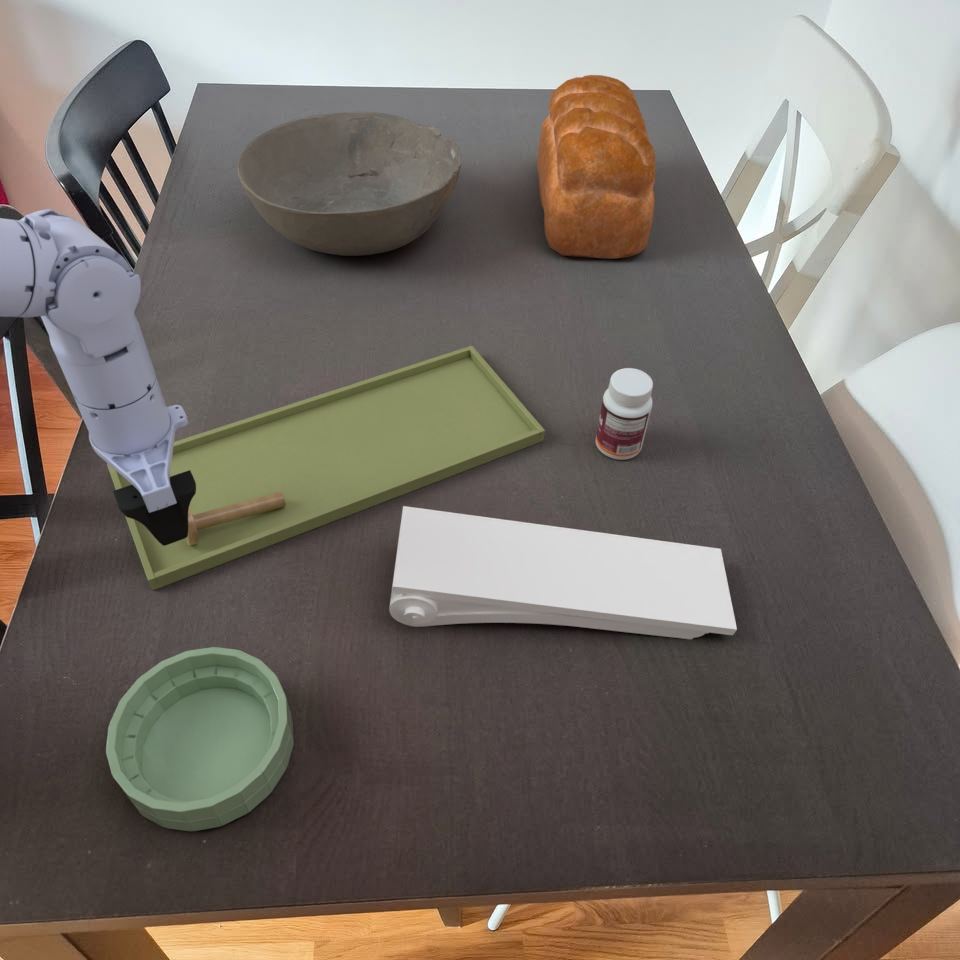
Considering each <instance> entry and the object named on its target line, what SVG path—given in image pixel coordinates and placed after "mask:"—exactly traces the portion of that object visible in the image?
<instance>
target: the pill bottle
mask: <svg viewBox="0 0 960 960" xmlns="http://www.w3.org/2000/svg"><path fill="white" fill-rule="evenodd" d="M653 388H654V382H653V379H652V377H651V376H650V375H649V374H647V373H646V371H643V370H641V369H638V368H632V367H625V368H621V369H618V370H616V371H614V372H613V373H612V375H611V376H610V379H609V383H608V387H607V389H606V390H605V391H604V393H603V396H602V398H601V407H600V412H599V417H598V422H597V431H596V434H595V445H596V447H597V449H598V450H599V452H601V454H603V455H604V456H606V457H608V458H610V459H613V460H617V461H618V460H619V461H624V460H625V461H626V460H629V459H630V460H631V459H633V458H635V457H637V456H638V455H639V454H640V453H641V451H642V449H643V445H644V441H645V437H646V433H647V429H648V425H649V420H650V417H651V413H652V409H653V402H654V401H653V397H652V394H653Z"/></svg>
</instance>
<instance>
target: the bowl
mask: <svg viewBox="0 0 960 960" xmlns="http://www.w3.org/2000/svg"><path fill="white" fill-rule="evenodd" d="M236 166H237V167H236V168H237V169H236V172H237V174H238V179H239V182H240V185H241V187H242V189H243V191H244V193H245V194H246V196H247V198H248V199H249V201H250V202H251V203H252V205H253V206H254V208H255V209H256V211H257V213H258V214H259V215H260V216H261V218H262V219H263V220H265V222H266V223H267V224H268V225H269V226H271V227H272V228H273V229H274V230H275V231H276V232H277V233H279V234H280V235H281V236H283V237H284V238H285V239H287V240H289V241H290V242H292V243H294V244H296V245H298V246H300V247H303V248H306V249H308V250H311V251H315V252H318V253H322V254H323V253H324V254H329V255H334V256H335V255H336V256H347V257H348V256H349V257H351V256H352V257H355V256H356V257H357V256H371V255H377V254H382V253H386V252H391V251H394V250H397V249H399V248H402V247H404V246H406V245H408V244H410V243H411V242H413V241H415V240H416V239H418V238H419V237H421V236H422V235H423V234H424V233H425V232H427V231H428V230H429V229H430V228H431V226H432V225H433V224H434V223H435V221H436V220H437V218H438V217H439V216H440V214H441V213H442V210H443V208H444V207H445V205H446V204H447V203H448V201H449V199H450V197H451V196H452V194H453V191H454V189H455V187H456V184H457V182H458V180H459V177H460V173H461V168H462V152H461V150H460V147H458V145H457V143H456V141H454V139H452V138H449V137H448V138H445V137H444V136H443V135H442V133H441V131H440V129H439V128H437V127H434V126H432V125H423V124H421V123H417V122H415V121H413V120H410V119H407V118H405V117H403V116H399V115H395V114H389V113H384V112H376V111H342V112H334V113H325V114H311V115H307V116H304V117H300V118H296V119H293V120H290V121H287V122H283V123H280V124H278V125H276V126H275V127H272V128H270V129H269V130H267V131H265V132H263V133H261V134H259V135H257V137H255V138H253V139H252V140H251V141H250V142H248V144H246V145H245V146H244V148H243V149H242V151H241V152H240V155H239V157H238V160H237V165H236Z"/></svg>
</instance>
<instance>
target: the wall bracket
mask: <svg viewBox="0 0 960 960" xmlns="http://www.w3.org/2000/svg"><path fill="white" fill-rule="evenodd" d="M724 562H725V561H724V558H723V552H722V549H721V548H717V547H712V546H711V547H710V546H703V545H696V544H689V543H680V542H675V541H665V540H658V539H652V538H643V537H637V536H636V537H635V536H628V535H621V534H613V533H606V532H600V531H591V530H586V529H585V530H584V529H577V528H569V527H561V526H554V525H549V524H548V525H547V524H539V523H532V522H524V521H517V520H512V519H511V520H510V519H503V518H495V517H487V516H481V515H473V514H466V513H457V512H451V511H444V510H435V509H429V508H428V509H427V508H422V507H413V506H408V505H407V506H406V505H403V506H402V511H401V519H400V525H399V533H398V539H397V548H396V555H395V563H394V570H393V577H392V585H391V593H390V600H389V608H388V611H389V614H390V616H391V617H392V618H393V619H394V620H395V621H397V622H398V623H400V624H402V625H405V626H407V627H409V626H410V627H413V628H419V627H433V626H445V625H458V624H460V625H461V624H485V623H486V624H489V623H490V624H491V623H494V624H495V623H504V624H509V623H510V624H512V623H513V624H538V625H540V624H541V625H555V626H564V627H565V626H566V627H567V626H568V627H575V628H576V627H577V628H578V627H579V628H585V629H587V628H588V629H595V630H604V631H612V632H621V633H622V632H623V633H629V634H630V633H631V634H638V635H639V634H640V635H649V636H657V637H667V638H677V639H684V640H693V639H695V638H699V637H702V636H704V635H705V634H709V633H711V634H719V635H727V636H734V635H735V634H736V632H737V630H738V628H737V623H736V617H735V613H734V607H733V603H732V597H731V593H730V587H729V583H728V578H727V573H726V572H727V571H726V569H725V563H724Z"/></svg>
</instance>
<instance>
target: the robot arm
mask: <svg viewBox="0 0 960 960" xmlns="http://www.w3.org/2000/svg"><path fill="white" fill-rule="evenodd" d="M141 283H142V282H141V278H140V275H139V274H138V273H137V274H135V273H134V272H133V271H132V267H131V266H130V264H129V263H128V262H127V260H126V259H125V258H124V257H123V256H122V255H121V254H120V253H119V252H118V251H117V250H115V249H114V248H113V247H111V246H110V245H109V244H108V243H107V242H106V241H105V240H103V239H102V238H101V237H99V236H98V235H97V234H96V233H95V232H94V231H92V230H91V229H90V228H89V227H87V225H85V224H84V223H83V222H81V221H79V220H77V219H76V218H73V216H69V215H68V214H65V213H61V212H60V213H59V212H57V211H55V210H54V209H51V208H47V209H46V208H45V209H41V210H37V211H33V212H30V213H29V214H25V215H24V216H23V217H22V218H21V219H10V218H2V217H0V318H1V317H4V318H36V317H40V318H41V321H42V323H43V325H44V327H45V330H46V332H47V335H48V337H49V342H50V346H51V349H52V351H53V353H54V355H55V358H56V360H57V362H58V364H59V367H60V369H61V371H62V373H63V376H64V378H65V380H66V383H67V386H68V388H69V389H70V391H71V394H72V397H73V399H74V401H75V404H76V406H77V408H78V410H79V412H80V413H79V414H80V415H81V417H82V419H83V423H84V424H85V426H86V429H87V431H88V440H89V443H90V445H91V447H92V449H93V451H94V453H95V454H96V455H97V456H98V457H100V459H102V460H103V461H104V462H105V463H106V464H109V465H110V466H111V467H112V468H114V469H115V470H116V471H117V472H118V473H119V474H121V475H122V476H123V477H124V478H125V479H126V480H128V481H129V482H130V483H131V484H132V485H129V486H126V487H123V488H120V489H117V490H116V489H115V490H113V491H112V493H113V496H114V499H115V502H116V504H117V507H118V509H119V511H120V512H121V513H122V514H123V515H124V517H125V516H126V517H128V518H132V519H134V520H136V521H138V522H140V523H142V524H143V525H144V526H145V527H146V528H147V529H148V530H149V531H150V532H151V534H152V535H153V536H154V537H155V538H156V540H157V541H158V542H159V543H161V544H162V545H163V546H166V545H168V544H171V543H174V542H177V541H179V540H182V539H185V538H187V537H188V510H189V505H190V502H191V500H192V498H193V496H194V495H195V494H196V482H195V480H194V478H193V475H192V473H191V471H190V470H189V471H186V472H183V473H180V474H177V475H174V476H171V477H170V470H171V462H172V453H173V445H174V442H175V438H176V437H175V436H176V432H177V430H178V429H179V430H180V429H182V428H184V427H187V425H188V424H189V419H188V416H187V414H186V412H185V410H184V408H183V406H182V405H181V404H180V405H179V404H173V405H169V406H167V404H166V401H165V398H164V395H163V392H162V389H161V386H160V383H159V380H158V377H157V374H156V371H155V368H154V364H153V361H152V358H151V356H150V353H149V350H148V347H147V346H148V345H147V343H146V341H145V338H144V334H143V332H142V329H141V325H140V322H139V320H138V319H137V315H136V313H135V311H136V308H137V306H138V304H139V301H140V299H141V298H140V297H141V293H142V284H141ZM126 517H125V518H126Z"/></svg>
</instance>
